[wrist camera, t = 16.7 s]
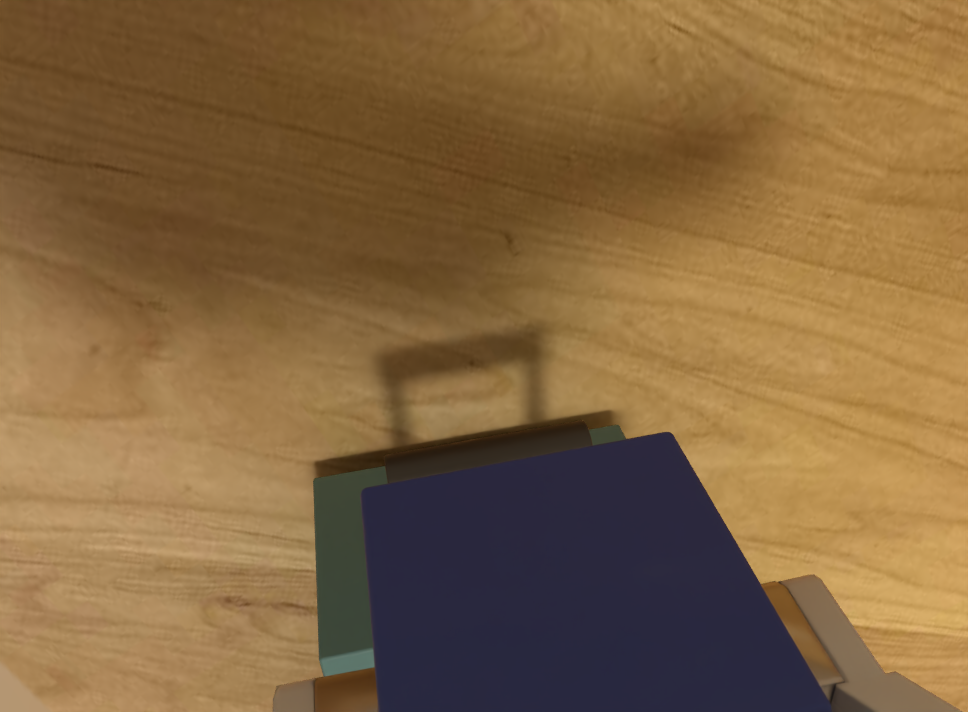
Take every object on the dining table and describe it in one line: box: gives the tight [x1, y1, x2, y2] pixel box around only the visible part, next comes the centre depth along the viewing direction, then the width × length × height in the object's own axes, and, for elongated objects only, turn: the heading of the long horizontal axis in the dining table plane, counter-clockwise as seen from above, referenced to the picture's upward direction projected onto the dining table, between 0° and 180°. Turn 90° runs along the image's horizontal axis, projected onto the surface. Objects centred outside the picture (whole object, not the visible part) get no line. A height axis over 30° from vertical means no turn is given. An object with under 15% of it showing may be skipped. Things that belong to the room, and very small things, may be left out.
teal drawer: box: [313, 420, 626, 676], centre depth 30 cm, size 18×11×8 cm, turn 4°
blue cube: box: [360, 432, 832, 712], centre depth 11 cm, size 4×4×4 cm
